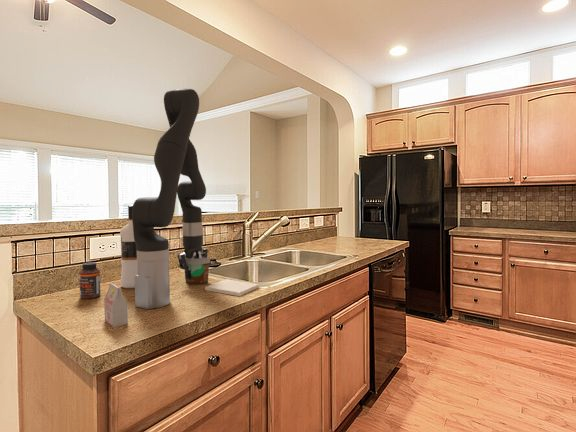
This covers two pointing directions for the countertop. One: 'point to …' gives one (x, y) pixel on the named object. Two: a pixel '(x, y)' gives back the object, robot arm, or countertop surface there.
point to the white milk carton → (115, 307)
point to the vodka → (128, 253)
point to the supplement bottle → (89, 281)
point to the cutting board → (232, 287)
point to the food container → (198, 270)
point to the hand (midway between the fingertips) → (193, 277)
